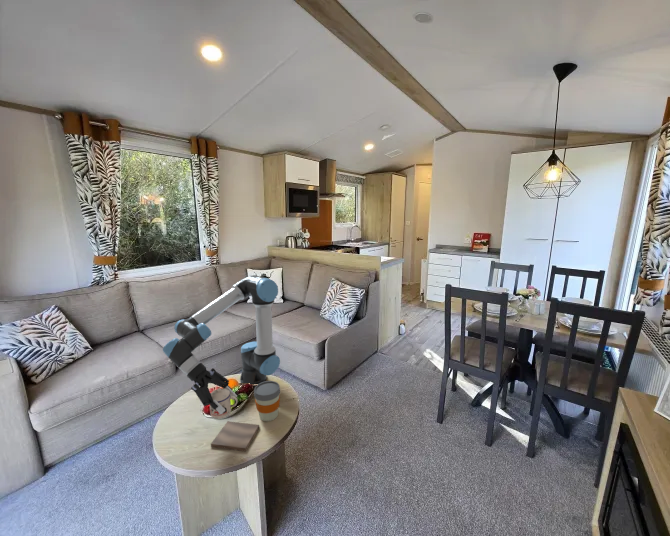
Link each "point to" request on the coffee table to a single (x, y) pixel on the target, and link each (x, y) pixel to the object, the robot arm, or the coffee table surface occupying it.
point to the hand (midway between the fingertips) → (229, 404)
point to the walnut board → (235, 436)
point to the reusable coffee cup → (267, 399)
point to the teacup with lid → (222, 402)
